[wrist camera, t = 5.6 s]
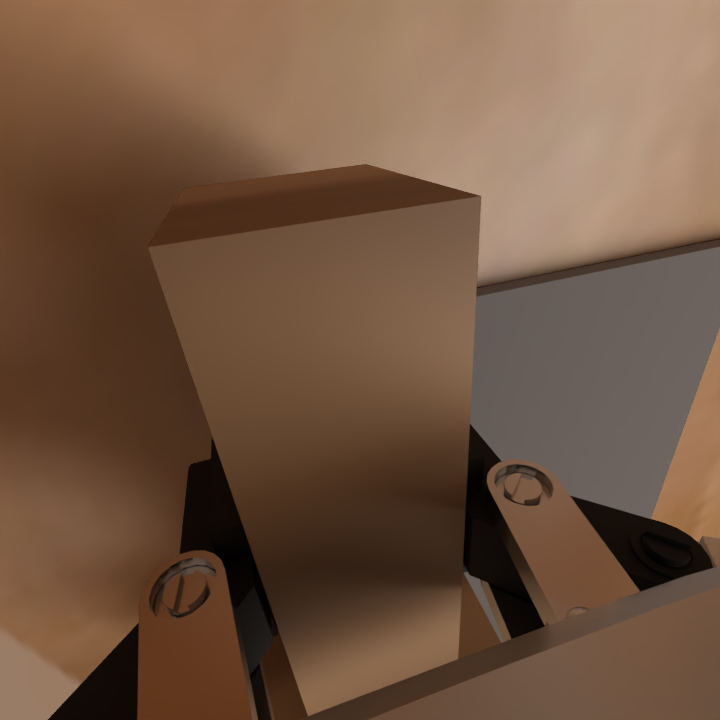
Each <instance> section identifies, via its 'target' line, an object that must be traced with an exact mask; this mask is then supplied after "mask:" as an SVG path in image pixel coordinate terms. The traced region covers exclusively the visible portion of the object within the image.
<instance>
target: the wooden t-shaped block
mask: <svg viewBox="0 0 720 720" xmlns="http://www.w3.org/2000/svg"><path fill="white" fill-rule="evenodd" d="M480 209H481V196H479V195H475V194H472V193H468V192H464V191H461V190H457V189H454V188H450V187H446V186H443V185H439V184H436V183H432V182H428V181H425V180H421V179H418V178H414V177H410V176H407V175H403V174H399V173H396V172H392V171H389V170H385V169H381V168H378V167H374V166H371V165H367V164H364V165H356V166H348V167H341V168H333V169H325V170H318V171H310V172H302V173H295V174H287V175H279V176H272V177H264V178H256V179H249V180H241V181H233V182H226V183H218V184H210V185H203V186H195V187H187V188H183V190H182V192H181V193H180V195H179V197H178V198H177V200H176V202H175V203H174V205H173V206H172V208H171V210H170V211H169V213H168V215H167V216H166V218H165V220H164V221H163V223H162V225H161V226H160V228H159V230H158V231H157V233H156V234H155V236H154V238H153V239H152V241H151V243H150V244H149V246H148V250H149V253H150V256H151V259H152V262H153V264H154V267H155V270H156V273H157V276H158V279H159V282H160V285H161V288H162V291H163V294H164V297H165V300H166V302H167V305H168V308H169V311H170V314H171V317H172V320H173V323H174V326H175V329H176V332H177V335H178V338H179V340H180V343H181V346H182V349H183V352H184V355H185V358H186V361H187V364H188V367H189V370H190V373H191V376H192V378H193V381H194V384H195V387H196V390H197V393H198V396H199V399H200V402H201V405H202V408H203V411H204V414H205V416H206V419H207V422H208V425H209V428H210V431H211V434H212V437H213V440H214V443H215V446H216V449H217V452H218V454H219V457H220V460H221V463H222V466H223V469H224V472H225V475H226V478H227V481H228V484H229V487H230V490H231V492H232V495H233V498H234V501H235V504H236V507H237V510H238V513H239V516H240V519H241V522H242V525H243V528H244V530H245V533H246V536H247V539H248V542H249V545H250V548H251V551H252V554H253V557H254V560H255V563H256V566H257V568H258V571H259V574H260V577H261V580H262V583H263V586H264V589H265V592H266V595H267V598H268V601H269V604H270V606H271V609H272V612H273V615H274V618H275V621H276V624H277V627H278V636H275V637H273V643H272V644H271V646H270V647H269V649H268V650H267V652H266V653H265V655H264V656H263V658H262V659H261V660H262V664H263V668H264V673H265V677H266V682H267V686H268V691H269V696H270V700H271V705H272V709H273V714H274V718H275V720H300V719H302V718H305V717H307V716H310V715H313V714H315V713H318V712H320V711H323V710H326V709H328V708H331V707H333V706H336V705H339V704H341V703H344V702H346V701H349V700H352V699H354V698H357V697H360V696H362V695H365V694H367V693H370V692H373V691H375V690H378V689H381V688H383V687H386V686H389V685H391V684H394V683H397V682H399V681H402V680H404V679H407V678H410V677H412V676H415V675H418V674H420V673H423V672H426V671H428V670H431V669H433V668H436V667H439V666H441V665H444V664H447V663H449V662H452V661H455V660H457V659H460V658H463V657H465V656H468V655H471V654H473V653H476V652H478V651H481V650H484V649H486V648H489V647H492V646H494V645H497V644H500V643H501V641H500V639H499V638H498V636H497V634H496V632H495V630H494V628H493V626H492V625H491V623H490V621H489V619H488V617H487V615H486V613H485V612H484V610H483V608H482V606H481V604H480V602H479V600H478V599H477V597H476V595H475V593H474V591H473V589H472V587H471V586H470V584H469V582H468V580H467V578H466V576H465V574H464V573H462V572H463V552H464V532H465V511H466V491H467V471H468V451H469V431H470V411H471V391H472V371H473V350H474V330H475V310H476V290H477V270H478V250H479V230H480Z"/></svg>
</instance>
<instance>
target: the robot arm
mask: <svg viewBox="0 0 720 720" xmlns="http://www.w3.org/2000/svg"><path fill="white" fill-rule="evenodd" d="M465 572H468V573H469V575H471V576H473V577H475V578H478V579H480V581H481V586H482V588H483V591H484V593H485V596H486V598H487V601H488V603H489V606H490V608H491V611H492V613H493V616H494V618H495V621H496V623H497V626H498V628H499V631H500V633H501V636H502V638H503V641H504V642H502V643H500V644H497V645H494V646H492V647H489V648H486V649H484V650H481V651H478V652H476V653H473V654H471V655H468V656H465V657H463V658H460V659H457V660H455V661H452V662H449V663H447V664H444V665H441V666H439V667H436V668H433V669H431V670H428V671H426V672H423V673H420V674H418V675H415V676H412V677H410V678H407V679H404V680H402V681H399V682H397V683H394V684H391V685H389V686H386V687H383V688H381V689H378V690H375V691H373V692H370V693H367V694H365V695H362V696H360V697H357V698H354V699H352V700H349V701H346V702H344V703H341V704H339V705H336V706H333V707H331V708H328V709H326V710H323V711H320V712H318V713H315V714H313V715H310V716H307V717H305V718H302V719H300V720H720V539H719V538H712V537H704V536H702V538H701V540H700V542H697V541H695V540H694V539H693V538H692V537H691V536H689V535H688V534H686V533H684V532H683V531H681V530H679V529H678V528H676V527H673V526H670V525H668V524H665V523H663V522H659V521H656V520H652V519H649V518H645V517H642V516H639V515H635V514H632V513H628V512H625V511H621V510H618V509H615V508H611V507H608V506H604V505H601V504H597V503H594V502H591V501H587V500H584V499H580V498H577V497H573V496H570V495H569V494H568V492H567V491H566V490H565V488H564V487H563V486H562V484H561V483H560V482H559V480H558V479H557V478H556V477H555V476H554V475H553V474H552V473H551V471H549V470H548V469H546V468H545V467H543V466H541V465H539V464H537V463H534V462H531V461H527V460H520V459H514V460H506V461H501V460H500V459H499V458H498V456H497V455H496V454H495V453H494V452H493V450H492V449H491V448H490V447H489V446H488V444H487V443H486V442H485V441H484V440H483V438H482V437H481V436H480V435H479V434H478V432H477V431H476V430H475V429H474V428H473V426H472V425H471V424H470V431H469V451H468V471H467V491H466V511H465V532H464V552H463V572H462V573H465ZM275 636H278V627H277V624H276V621H275V618H274V615H273V612H272V609H271V606H270V604H269V601H268V598H267V595H266V592H265V589H264V586H263V583H262V580H261V577H260V574H259V571H258V568H257V566H256V563H255V560H254V557H253V554H252V551H251V548H250V545H249V542H248V539H247V536H246V533H245V530H244V528H243V525H242V522H241V519H240V516H239V513H238V510H237V507H236V504H235V501H234V498H233V495H232V492H231V490H230V487H229V484H228V481H227V478H226V475H225V472H224V469H223V466H222V463H221V460H220V457H219V454H218V452H217V449H216V446H215V443H214V440H213V437H212V448H211V459H209V460H205V461H201V462H197V463H193V464H191V465H190V466H189V470H188V479H187V489H186V499H185V508H184V518H183V528H182V537H181V547H180V555H178V556H176V557H174V558H172V559H170V560H168V561H167V562H166V563H165V564H163V565H162V566H161V567H160V568H158V569H157V570H156V571H155V573H154V574H153V575H152V576H151V577H150V579H149V580H148V581H147V583H146V585H145V587H144V589H143V591H142V593H141V598H140V603H139V623H138V624H137V625H136V626H135V627H134V628H133V629H132V631H131V632H130V633H129V634H128V635H127V636H126V637H125V638H124V639H123V640H122V641H121V642H120V643H119V644H118V645H117V647H116V648H115V649H114V650H113V651H112V652H111V653H110V654H109V655H108V656H107V657H106V658H105V659H104V660H103V661H102V663H101V664H100V665H99V666H98V667H97V668H96V669H95V670H94V671H93V672H92V673H91V674H90V675H89V676H88V677H87V679H86V680H85V681H84V682H83V683H82V684H81V685H80V686H79V687H78V688H77V689H76V690H75V691H74V693H73V694H72V695H71V696H70V697H69V698H68V699H67V700H66V701H65V702H64V703H63V704H62V705H61V706H60V707H59V709H57V711H56V712H55V713H54V714H53V715H52V716H51V717H50V718H49V719H48V720H275V718H274V714H273V709H272V705H271V700H270V696H269V691H268V686H267V682H266V677H265V673H264V668H263V664H262V660H261V659H262V658H263V656H264V655H265V653H266V652H267V650H268V649H269V647H270V646H271V644H272V643H273V637H275Z"/></svg>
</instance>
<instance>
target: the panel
mask: <svg viewBox="0 0 720 720" xmlns="http://www.w3.org/2000/svg"><path fill="white" fill-rule="evenodd" d="M719 328H720V239H718V240H713V241H708V242H703V243H698V244H693V245H688V246H683V247H678V248H674V249H669V250H664V251H659V252H654V253H649V254H644V255H639V256H634V257H629V258H624V259H619V260H614V261H609V262H604V263H599V264H594V265H589V266H584V267H579V268H574V269H569V270H564V271H559V272H554V273H549V274H544V275H539V276H535V277H530V278H525V279H520V280H515V281H510V282H505V283H500V284H495V285H490V286H485V287H480V288H477V290H476V310H475V330H474V350H473V371H472V391H471V411H470V424H471V425H472V426H473V428H474V429H475V430H476V431H477V432H478V434H479V435H480V436H481V437H482V438H483V440H484V441H485V442H486V443H487V444H488V446H489V447H490V448H491V449H492V450H493V452H494V453H495V454H496V455H497V456H498V458H499V459H500V460H501V461H506V460H514V459H520V460H527V461H531V462H534V463H537V464H539V465H541V466H543V467H545V468H546V469H548V470H549V471H551V473H552V474H553V475H554V476H555V477H556V478H557V479H558V480H559V482H560V483H561V484H562V486H563V487H564V488H565V490H566V491H567V492H568V494H569V495H570V496H573V497H577V498H580V499H584V500H587V501H591V502H594V503H597V504H601V505H604V506H608V507H611V508H615V509H618V510H621V511H625V512H628V513H632V514H635V515H639V516H642V517H645V518H649V519H651V516H652V514H653V511H654V508H655V505H656V502H657V500H658V497H659V494H660V491H661V489H662V486H663V483H664V480H665V477H666V475H667V472H668V469H669V466H670V464H671V461H672V458H673V455H674V453H675V450H676V447H677V444H678V441H679V439H680V436H681V433H682V430H683V428H684V425H685V422H686V419H687V416H688V414H689V411H690V408H691V405H692V403H693V400H694V397H695V394H696V391H697V389H698V386H699V383H700V380H701V378H702V375H703V372H704V369H705V366H706V364H707V361H708V358H709V355H710V353H711V350H712V347H713V344H714V341H715V339H716V336H717V333H718V330H719ZM464 574H465V576H466V578H467V580H468V582H469V584H470V586H471V587H472V589H473V591H474V593H475V595H476V597H477V599H478V600H479V602H480V604H481V606H482V608H483V610H484V612H485V613H486V615H487V617H488V619H489V621H490V623H491V625H492V626H493V628H494V630H495V632H496V634H497V636H498V638H499V639H500V641H501V643H502V642H504V641H503V638H502V636H501V633H500V631H499V628H498V626H497V623H496V621H495V618H494V616H493V613H492V611H491V608H490V606H489V603H488V601H487V598H486V596H485V593H484V591H483V588H482V586H481V581H480V579H478V578H475V577H473V576H471V575H469V573H468V572H465V573H464Z"/></svg>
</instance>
